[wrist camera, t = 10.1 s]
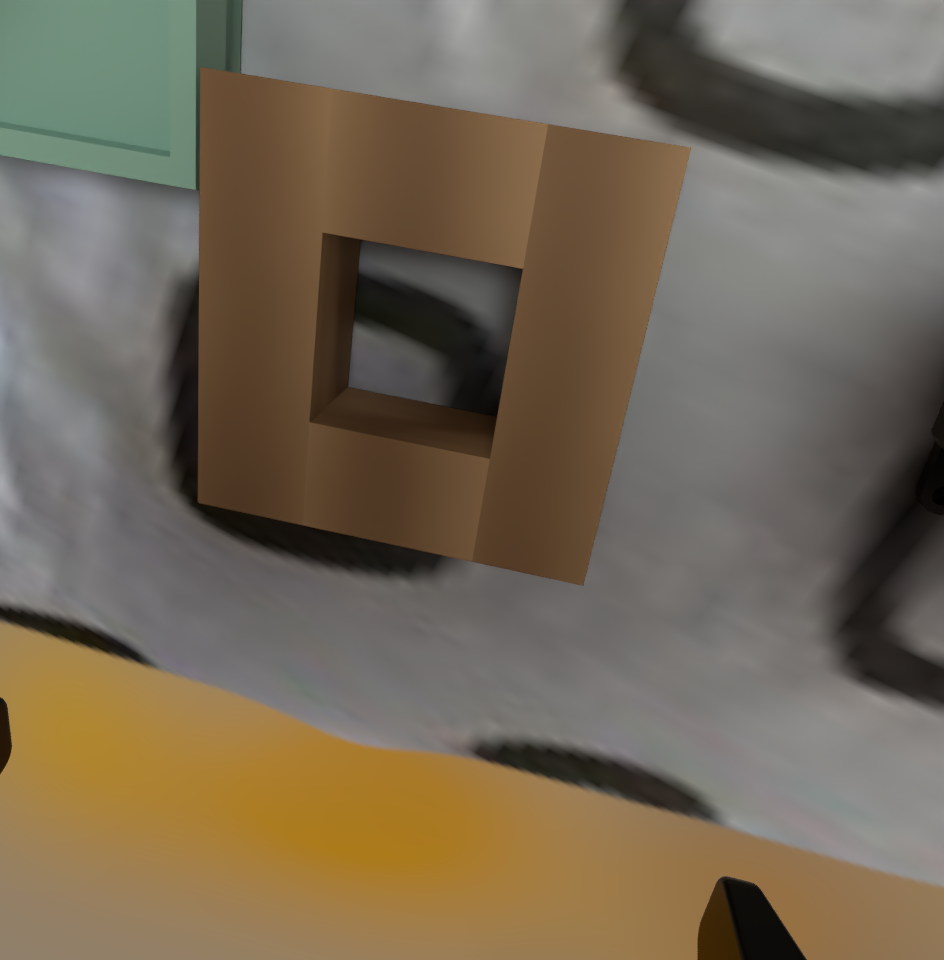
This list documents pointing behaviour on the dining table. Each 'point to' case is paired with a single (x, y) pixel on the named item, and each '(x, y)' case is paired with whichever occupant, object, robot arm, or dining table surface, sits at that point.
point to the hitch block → (331, 303)
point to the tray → (112, 82)
